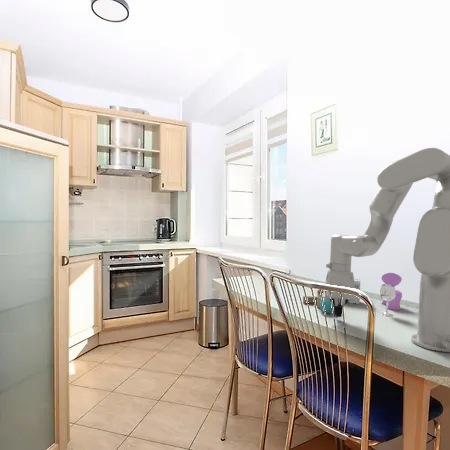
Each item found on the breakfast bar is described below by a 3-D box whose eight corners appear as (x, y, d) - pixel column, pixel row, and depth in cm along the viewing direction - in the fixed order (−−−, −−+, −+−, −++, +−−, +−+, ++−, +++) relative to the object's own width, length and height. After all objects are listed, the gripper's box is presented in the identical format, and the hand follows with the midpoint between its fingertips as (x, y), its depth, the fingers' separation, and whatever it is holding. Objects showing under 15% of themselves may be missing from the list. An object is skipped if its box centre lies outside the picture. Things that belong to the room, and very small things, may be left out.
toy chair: (383, 308, 145) (384, 274, 145) (378, 303, 154) (380, 271, 154) (404, 310, 144) (405, 276, 143) (398, 305, 152) (400, 272, 152)
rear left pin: (323, 308, 141) (324, 288, 141) (317, 308, 141) (318, 288, 141) (321, 307, 144) (322, 287, 144) (316, 306, 144) (316, 287, 144)
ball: (329, 299, 140) (335, 312, 137) (316, 302, 139) (321, 316, 136) (332, 294, 135) (339, 308, 132) (318, 297, 134) (324, 312, 131)
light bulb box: (359, 301, 157) (360, 278, 157) (359, 304, 151) (360, 281, 151) (335, 298, 161) (336, 276, 161) (334, 301, 155) (336, 278, 155)
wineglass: (391, 313, 139) (392, 284, 138) (396, 317, 133) (398, 287, 132) (376, 312, 139) (378, 283, 139) (381, 316, 133) (383, 286, 133)
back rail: (340, 305, 148) (340, 298, 148) (303, 303, 148) (304, 297, 148) (338, 304, 150) (338, 297, 150) (302, 302, 150) (303, 296, 150)
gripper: (323, 268, 122) (320, 318, 123) (364, 270, 122) (361, 319, 122) (317, 265, 130) (315, 312, 130) (356, 267, 129) (354, 313, 130)
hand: (337, 315), depth 126 cm, fingers closed
